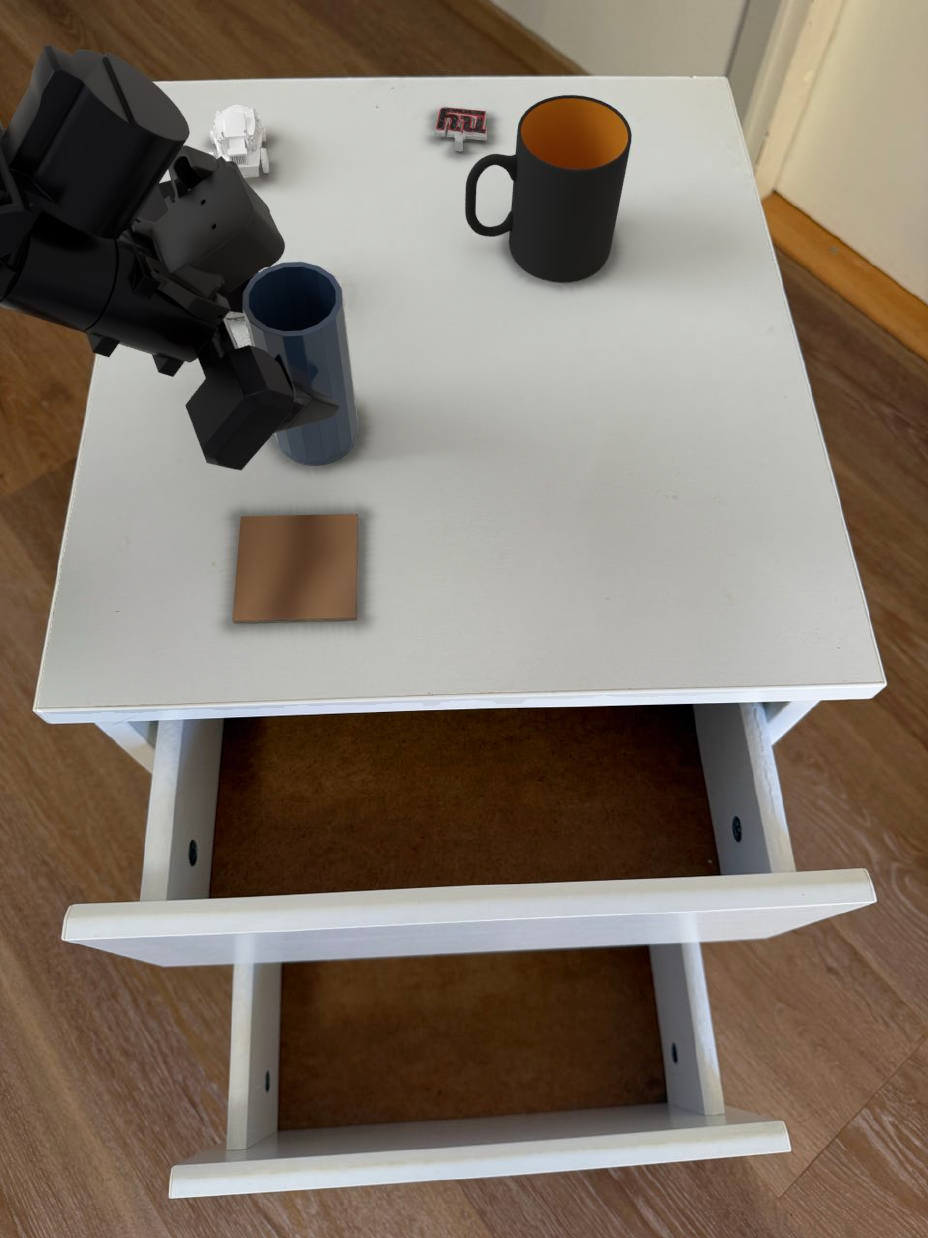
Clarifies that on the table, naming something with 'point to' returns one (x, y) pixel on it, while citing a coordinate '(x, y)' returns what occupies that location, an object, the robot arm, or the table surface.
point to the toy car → (240, 139)
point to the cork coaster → (296, 568)
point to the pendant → (464, 119)
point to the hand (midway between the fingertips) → (311, 358)
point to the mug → (561, 187)
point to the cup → (306, 351)
